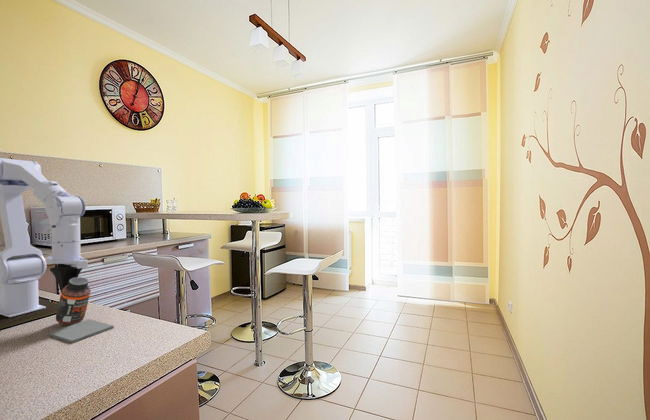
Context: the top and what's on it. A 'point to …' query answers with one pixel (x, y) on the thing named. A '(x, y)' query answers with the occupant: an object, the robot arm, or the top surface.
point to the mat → (80, 330)
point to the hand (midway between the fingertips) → (67, 292)
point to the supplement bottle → (73, 301)
